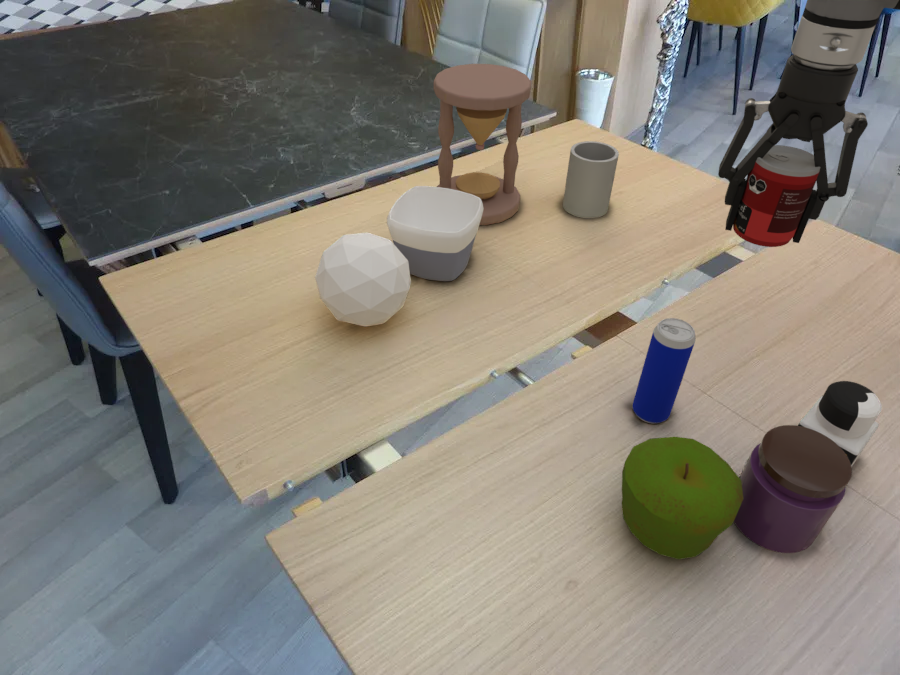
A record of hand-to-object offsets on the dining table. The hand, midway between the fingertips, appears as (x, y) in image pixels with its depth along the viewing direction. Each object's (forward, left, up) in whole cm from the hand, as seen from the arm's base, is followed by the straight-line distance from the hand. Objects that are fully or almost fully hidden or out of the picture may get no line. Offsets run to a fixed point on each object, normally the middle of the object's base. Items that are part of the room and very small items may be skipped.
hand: (761, 231), depth 91 cm
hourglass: (+49, -27, -20) cm, 60 cm away
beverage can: (+8, +19, -20) cm, 29 cm away
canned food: (0, 0, 0) cm, 0 cm away
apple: (+4, +37, -20) cm, 42 cm away
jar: (-8, +31, -20) cm, 38 cm away
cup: (+28, -34, -20) cm, 49 cm away
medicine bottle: (-13, +19, -21) cm, 31 cm away
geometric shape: (+54, +14, -21) cm, 60 cm away
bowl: (+49, -4, -20) cm, 54 cm away
